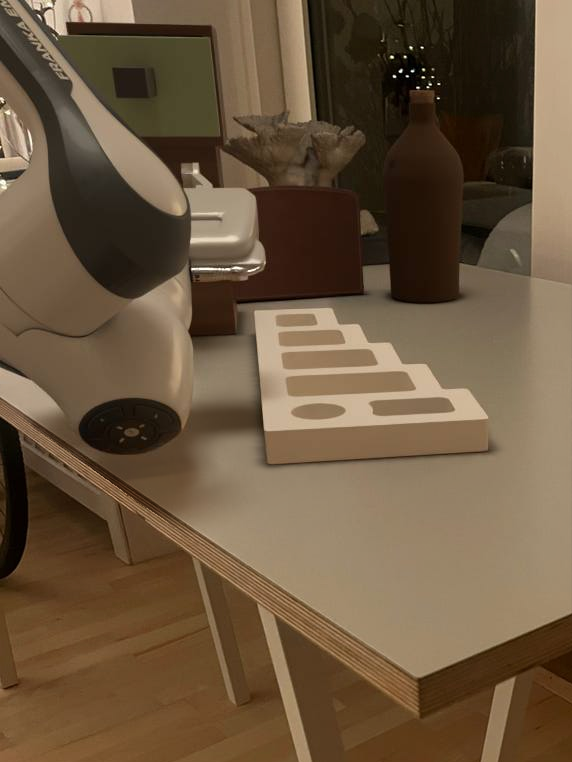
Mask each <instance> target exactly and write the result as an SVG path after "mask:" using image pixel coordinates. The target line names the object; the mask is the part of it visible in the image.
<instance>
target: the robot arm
mask: <svg viewBox="0 0 572 762" xmlns="http://www.w3.org/2000/svg"><path fill="white" fill-rule="evenodd" d="M0 97H1V98H2V100H4V102H5V103H6V104H7V106H8V107H9V108H10V109H11V111H12V112H13V113H14V114H15V115H16V117H18V119H19V121H20V122H21V123H22V124H23V126H25V127H26V129H27V131H28V132H29V134H30V137H31V140H32V141H31V142H32V143H31V144H32V153H31V157H30V161H29V163H28V166H27V168H26V169H25V171H23V173H22V174H21V175H19V176H18V177H17V178H16V179H15V180H14V181H13V182H12V183H11V184H10V185H9V186H7V188H6V189H4V190H3V191H2V192H1V193H0V368H1V369H3V370H5V371H8V372H9V373H13V374H14V375H17V376H20V377H22V378H23V379H27V380H29V381H32V383H34V384H35V385H37V386H38V387H39V388H40V389H41V390H42V391H43V392H44V393H46V394H47V396H49V397H50V398H51V399H52V400H53V402H54V403H55V404H56V405H57V406H58V407H59V409H60V410H61V412H62V413H63V415H64V417H65V418H66V420H67V422H68V424H69V426H70V427H71V429H72V431H73V432H74V434H75V435H76V437H77V438H79V440H80V441H82V443H84V444H86V445H87V446H88V447H90V448H92V449H94V450H96V451H98V452H101V453H104V454H110V455H115V456H136V455H141V454H146V453H150V452H153V451H155V450H158V449H159V448H161V447H163V446H164V445H166V444H168V443H170V442H171V441H173V440H174V439H175V438H177V436H179V435H181V432H182V431H183V430H184V428H185V426H186V424H187V421H188V418H189V416H190V412H191V406H192V402H193V394H194V393H193V392H194V378H195V377H194V376H195V375H194V374H195V373H194V372H195V371H194V370H195V366H194V365H195V364H194V363H195V360H194V346H193V345H194V344H193V342H192V338H191V337H192V336H190V335H189V332H188V329H189V327H190V323H191V318H192V297H191V283H192V282H209V281H215V280H216V281H219V280H225V279H226V280H232V281H242V280H247V279H248V276H249V275H254V274H256V273H258V272H260V271H263V269H264V267H265V264H266V258H265V249H264V247H263V246H262V244H261V243H260V242H259V225H258V212H257V203H256V197H255V196H254V195H253V194H252V193H250V192H249V191H248V190H246V189H247V188H244V187H224V188H213V186H212V184H211V183H210V182H209V181H208V180H207V179H206V178H204V177H203V176H202V175H201V174H200V170H199V163H181V175H182V181H183V187H184V188H183V187H182V185H181V184H180V182H179V181H178V179H177V178H176V176H175V175H174V174H173V172H172V171H171V170H170V169H169V167H168V166H167V165H166V164H165V163H164V161H163V160H162V159H161V158H160V157H159V156H158V155H157V154H156V153H155V152H154V151H153V149H152V148H151V147H150V146H149V145H148V144H147V143H146V142H145V141H144V140H143V139H142V138H141V137H140V136H139V135H138V134H137V133H136V132H135V131H134V130H133V129H132V128H131V127H130V126H129V125H128V124H127V123H126V122H125V121H124V120H123V119H122V118H121V117H120V116H119V115H118V114H117V113H116V112H115V111H114V110H113V108H112V107H111V106H110V105H109V104H108V102H107V101H106V100H105V99H104V98H103V96H102V95H101V94H100V93H99V92H98V90H97V89H96V88H95V86H94V85H93V84H92V83H91V81H90V80H89V79H88V78H87V76H86V75H85V74H84V73H83V72H82V70H81V69H80V68H79V67H78V65H77V64H76V63H75V62H74V60H73V59H72V58H71V57H70V55H69V54H68V53H67V52H66V50H65V49H64V48H63V47H62V45H61V44H60V43H59V42H58V39H57V37H56V36H55V35H54V34H53V33H52V31H51V30H50V29H49V28H48V26H47V25H46V24H45V23H44V22H43V20H42V19H41V18H40V17H39V15H38V14H37V13H36V11H34V9H33V8H32V7H31V5H30V4H29V3H28V2H27V0H0Z"/></svg>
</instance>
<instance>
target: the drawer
mask: <svg viewBox="0 0 572 762" xmlns="http://www.w3.org/2000/svg"><path fill="white" fill-rule="evenodd" d="M56 39H57V40H58V42H59V43H60V44H61V45H62V47H63V48H64V49H65V50H66V52H67V53H68V54H69V55H70V57H71V58H72V59H73V60H74V62H75V63H76V64H77V65H78V67H79V68H80V69H81V70H82V72H83V73H84V74H85V75H86V76H87V78H88V79H89V80H90V81H91V83H92V84H93V85H94V86H95V88H96V89H97V90H98V92H99V93H100V94H101V95H102V96H103V98H104V99H105V100H106V101H107V102H108V104H109V105H110V106H111V107H112V108H113V110H114V111H115V112H116V113H117V114H118V115H119V116H120V117H121V118H122V119H123V120H124V121H125V122H126V123H127V124H128V125H129V126H130V127H131V128H132V129H133V130H134V131H135V132H136V133H137V134H138V135H139V136H151V137H220V126H219V117H218V108H217V98H216V89H215V80H214V70H213V61H212V52H211V43H210V38H198V37H141V36H84V35H68V34H57V35H56Z"/></svg>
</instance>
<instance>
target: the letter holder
mask: <svg viewBox="0 0 572 762" xmlns="http://www.w3.org/2000/svg"><path fill="white" fill-rule="evenodd" d="M245 189H246V190H248V191H249V192H250V193H252V194H253V195H254V196H255V197H256V203H257V212H258V225H259V242H260V243H261V244H262V246H263V247H264V249H265V258H266V264H265V267H264V269H263V271H260V272H258V273H256V274H254V275H249V276H248V279H247V280H242V281H234V283H235V292H236V302H237V303H247V302H261V301H275V300H276V301H278V300H291V299H308V298H309V299H310V298H311V299H312V298H325V297H326V298H327V297H342V296H353V295H354V296H355V295H357V296H358V295H364V291H365V285H364V265H363V264H362V247H361V221H360V210H361V203H360V199H359V196H358V195H357V193H356V192H355V191H353V190H352V189H346V188H340V187H339V188H338V187H333V186H332V187H322V186H298V185H284V186H269V185H268V186H258V187H250V188H245Z"/></svg>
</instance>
